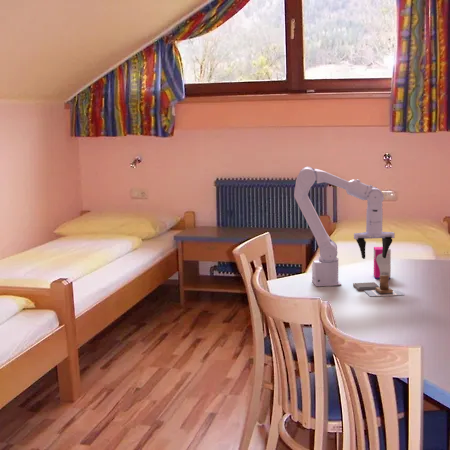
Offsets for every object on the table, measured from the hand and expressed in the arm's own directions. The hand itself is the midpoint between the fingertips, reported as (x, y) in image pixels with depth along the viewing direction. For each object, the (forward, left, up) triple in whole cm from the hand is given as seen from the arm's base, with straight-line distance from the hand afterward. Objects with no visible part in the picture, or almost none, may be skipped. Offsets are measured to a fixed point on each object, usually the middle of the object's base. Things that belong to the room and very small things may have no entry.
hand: (373, 257), depth 252 cm
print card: (0, -13, -10) cm, 16 cm away
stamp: (0, -13, -10) cm, 16 cm away
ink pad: (-4, -5, -10) cm, 12 cm away
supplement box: (+6, +10, -10) cm, 15 cm away
